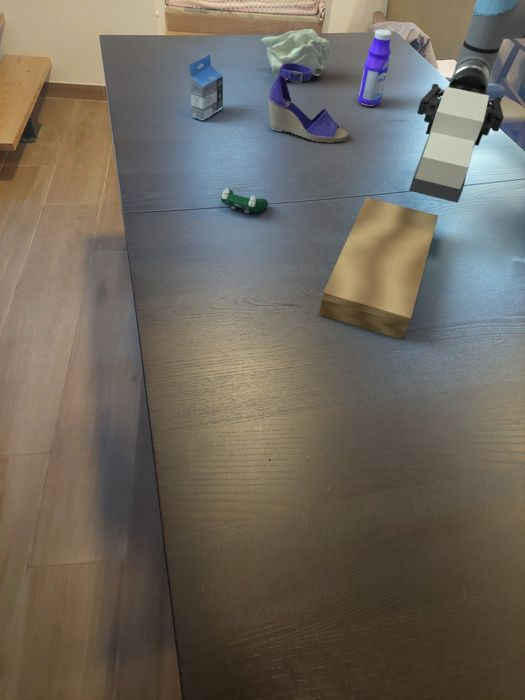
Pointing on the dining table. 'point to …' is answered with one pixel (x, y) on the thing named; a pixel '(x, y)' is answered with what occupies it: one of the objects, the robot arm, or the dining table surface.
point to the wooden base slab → (380, 268)
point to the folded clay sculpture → (297, 50)
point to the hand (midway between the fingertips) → (454, 132)
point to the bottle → (375, 68)
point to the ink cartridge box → (205, 88)
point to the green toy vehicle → (243, 201)
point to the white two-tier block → (450, 145)
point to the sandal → (291, 116)
